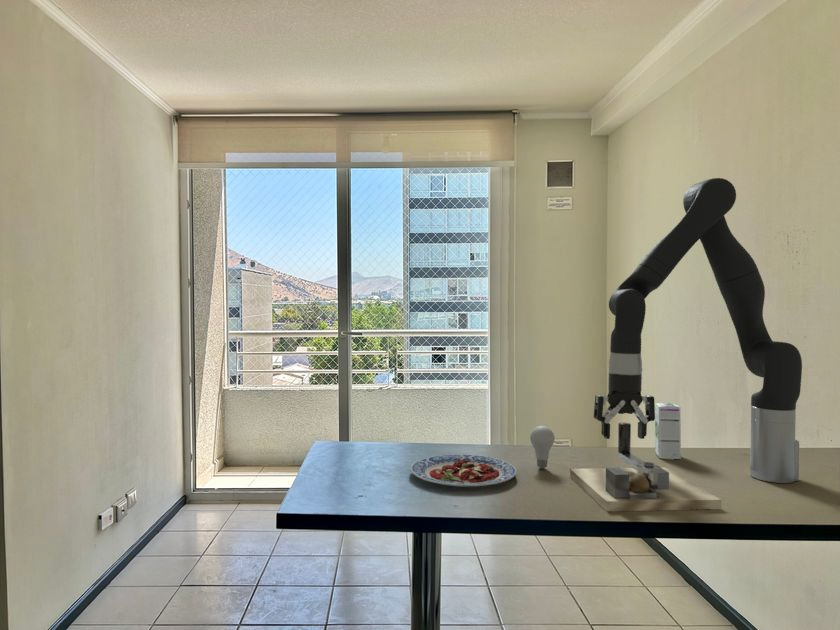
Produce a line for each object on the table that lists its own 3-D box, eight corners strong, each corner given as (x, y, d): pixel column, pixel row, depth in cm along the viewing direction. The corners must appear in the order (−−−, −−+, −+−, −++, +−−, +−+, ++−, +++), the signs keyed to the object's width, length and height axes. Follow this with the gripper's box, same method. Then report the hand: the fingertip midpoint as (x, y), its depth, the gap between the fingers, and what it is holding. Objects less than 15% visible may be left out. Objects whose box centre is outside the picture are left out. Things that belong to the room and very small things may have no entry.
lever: (631, 461, 139) (632, 422, 139) (674, 489, 118) (675, 443, 118) (611, 462, 138) (612, 422, 138) (651, 489, 118) (652, 443, 117)
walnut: (643, 491, 121) (644, 472, 121) (652, 497, 117) (652, 478, 117) (625, 491, 121) (625, 472, 121) (633, 497, 117) (634, 478, 117)
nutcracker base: (665, 475, 139) (666, 447, 139) (721, 509, 116) (721, 475, 116) (570, 476, 138) (570, 448, 137) (606, 511, 115) (607, 477, 114)
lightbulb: (556, 467, 146) (556, 424, 146) (551, 473, 140) (551, 429, 140) (533, 464, 148) (533, 422, 148) (527, 470, 143) (527, 427, 143)
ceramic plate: (458, 457, 156) (458, 446, 156) (537, 477, 138) (537, 465, 138) (388, 476, 138) (388, 464, 138) (468, 503, 120) (468, 489, 120)
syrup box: (681, 460, 153) (682, 406, 153) (658, 458, 154) (658, 405, 154) (676, 454, 159) (676, 403, 158) (653, 453, 160) (654, 402, 160)
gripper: (646, 370, 141) (645, 434, 141) (590, 369, 140) (589, 434, 140) (661, 373, 133) (659, 442, 134) (602, 373, 133) (600, 441, 133)
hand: (623, 438), depth 137 cm, fingers open, 8 cm apart
